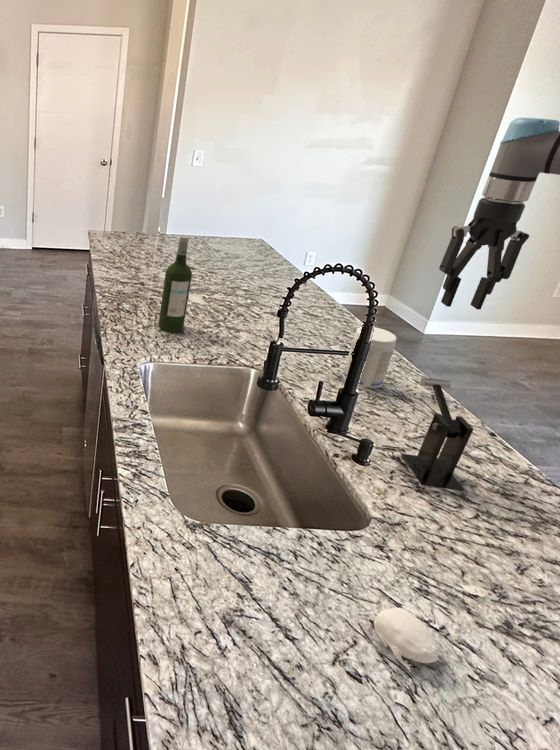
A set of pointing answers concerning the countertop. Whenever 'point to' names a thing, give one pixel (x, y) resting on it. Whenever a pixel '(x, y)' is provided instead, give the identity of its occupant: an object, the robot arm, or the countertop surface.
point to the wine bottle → (176, 291)
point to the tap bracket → (440, 468)
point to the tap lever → (443, 403)
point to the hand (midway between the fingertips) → (460, 305)
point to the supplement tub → (374, 357)
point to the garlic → (406, 636)
